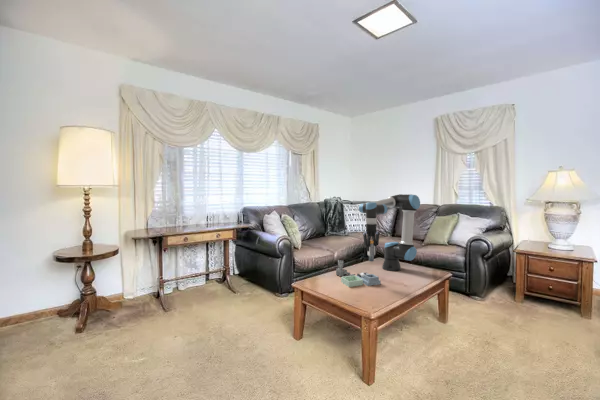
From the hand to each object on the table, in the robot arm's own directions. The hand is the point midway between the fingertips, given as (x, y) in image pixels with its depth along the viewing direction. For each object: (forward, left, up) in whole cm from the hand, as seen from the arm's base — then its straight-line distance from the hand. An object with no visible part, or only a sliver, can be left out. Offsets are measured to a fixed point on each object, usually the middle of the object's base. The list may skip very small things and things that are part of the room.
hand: (371, 255), depth 214 cm
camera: (+11, -22, -21) cm, 32 cm away
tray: (+14, -4, -21) cm, 26 cm away
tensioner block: (0, -4, -21) cm, 22 cm away
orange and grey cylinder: (0, 0, -4) cm, 4 cm away
